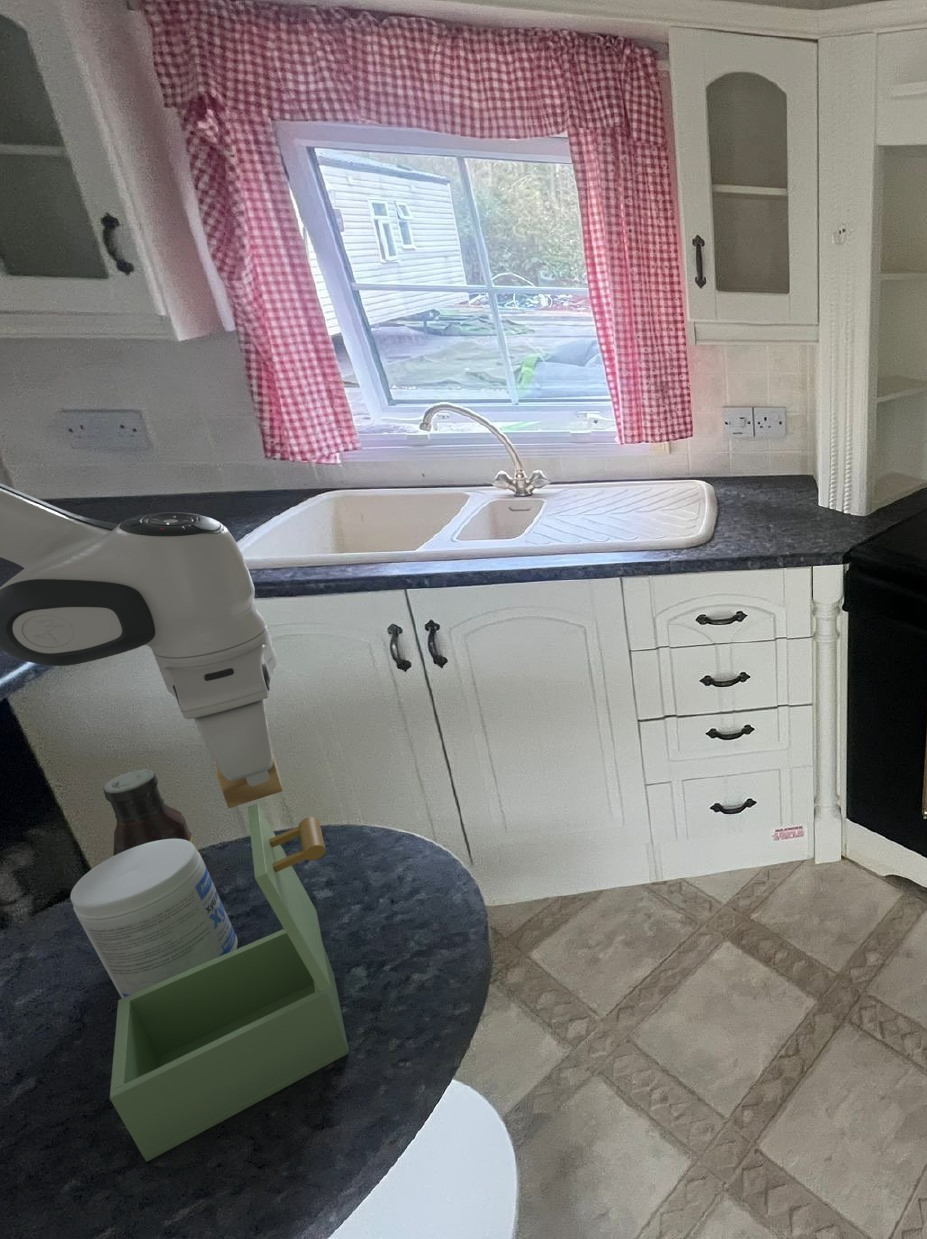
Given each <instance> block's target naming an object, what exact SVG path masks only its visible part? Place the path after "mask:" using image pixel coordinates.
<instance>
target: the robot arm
mask: <svg viewBox="0 0 927 1239" xmlns="http://www.w3.org/2000/svg"><path fill="white" fill-rule="evenodd" d="M0 558H1V559H3V560H7V561H9V562H12V563H14V564H17V566H20V567H22V568H23V569H22V570H20V571H19V572H18V573H17V574H16V575H14V576H13V577H11V578H10V579H8V580H7V581H6V582H5V583H4V584H2V585H1V586H0V650H2V651H3V652H5V653H6V654H8V655H10V656H12V657H14V658H17V659H18V660H21V661H25V662H29V663H31V664H36V665H42V666H48V667H49V666H51V667H52V666H53V667H67V666H74V665H80V664H85V663H89V662H93V661H97V660H101V659H105V658H109V657H113V656H117V655H120V654H123V653H127V652H129V651H132V650H135V649H138V648H142V647H143V646H147V647H149V648H150V649H151V651H152V654H153V656H154V660H155V661H156V664H157V667H158V670H159V673H160V675H161V677H162V680H163V682H164V685H165V687H166V690H167V691H168V692H169V694H171V695H172V696H173V697H174V698H175V700H176V701H177V704H178V707H179V710H180V712H181V714H182V716H183V718H184V719H185V720H194V723H195V725H196V727H197V728H196V729H197V730H198V732H199V734H200V736H201V738H202V740H203V742H204V744H205V746H206V748H207V750H208V751H209V753H210V756H211V757H212V759H213V761H214V762H215V765H216V764H217V766H218V768H219V770H220V771H221V773H222V774H223V775H224V776H225V777H226V778H227V779H228V780H230V781H235V780H239V779H242V778H246V780H247V783H248V785H250V786H255V785H258V784H261V783H264V782H267V781H268V780H269V773H268V770H269V769H270V768H271V767H272V764H273V757H272V750H273V748H272V749H271V746H272V743H271V736H270V729H269V724H268V717H267V708H266V700H267V699H268V698H269V697H270V691H271V689H270V683H271V678H272V676H273V673H274V670H275V669H276V667H277V666H278V663H279V661H278V657H277V653H276V650H275V647H274V644H273V642H272V637H271V634H270V632H269V629H268V625H267V623H266V620H265V618H264V617H263V616H262V615H261V614H260V612H259V611H258V609H257V607H256V604H255V593H256V592H255V591H256V590H255V585H254V582H253V579H252V576H251V573H250V570H249V568H248V565H247V562H246V560H245V558H244V556H243V553H242V551H241V549H240V547H239V545H238V543H237V541H236V539H235V538H234V536H233V535H232V533H231V532H230V531H229V529H228V528H227V527H226V526H225V525H224V524H223V523H221V522H220V521H218V520H217V519H214V518H212V517H208V516H204V515H202V514H199V513H198V514H197V513H191V512H177V511H176V512H174V511H173V512H172V511H169V512H156V513H150V514H142V515H138V516H133V517H130V518H127V519H125V520H122V521H121V522H120V523H115V522H109V521H104V520H100V519H94V518H90V517H86V516H82V515H79V514H76V513H73V512H70V511H67V510H65V509H62V508H60V507H57V506H55V505H53V504H50V503H48V502H46V501H44V500H41V499H38V498H36V497H34V496H32V495H29V494H27V493H25V492H22V491H20V490H17V489H15V488H13V487H11V486H8V485H6V484H4V483H1V482H0Z"/></svg>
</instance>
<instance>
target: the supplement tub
mask: <svg viewBox="0 0 927 1239" xmlns="http://www.w3.org/2000/svg"><path fill="white" fill-rule="evenodd" d="M196 848H197V847H196ZM196 848H195V846H194V845H193V844H192V843H191V842H190V841H187V840H183V839H164V840H158V841H153V842H149V843H146V844H142V845H139V846H136V847H133V848H131V849H128V850H126V851H123V852H121V853H119V854H117V855H115V856H110V857H109V858H107V859H106V860H104V861H102V862H101V863H99V864H97V865H96V866H94V867H93V868H92V869H90V870H89V871H87V873H85V874H84V875H83V876H81V878H80V879H79V880H78V881H77V882H76V884H74V886H73V888H72V889H71V891H70V897H69V898H70V901H71V903H72V906H73V911H74V913H75V916H76V917H77V920H78V921H79V924H80V925H81V926H82V930H83V931H84V932H85V934H86V936H87V937H88V939H89V941H90V943H91V945H92V947H93V948H94V950H95V953H96V954H97V956H98V958H99V960H100V961H101V963H102V965H103V967H104V969H105V970H106V972H107V974H108V976H109V978H110V979H111V982H112V983H113V985H114V987H115V989H116V990H117V993H118V995H119V996H120V999H122V998H125V997H127V996H129V995H132V994H134V993H136V992H139V991H141V990H143V989H146V988H148V987H150V986H153V985H155V984H157V983H160V982H162V981H164V980H167V979H169V978H171V977H173V976H176V975H178V974H180V973H183V972H185V971H187V970H190V969H192V968H194V967H197V966H199V965H201V964H204V963H206V962H208V961H211V960H213V959H215V958H218V957H220V956H222V955H225V954H227V953H229V952H232V951H234V950H236V949H238V942H239V941H238V937H237V935H236V932H235V930H234V928H233V925H232V923H231V921H230V919H229V916H228V913H227V911H226V909H225V907H224V905H223V902H222V900H221V898H220V895H219V893H218V891H217V888H216V886H215V884H214V881H213V879H212V877H211V875H210V872H209V870H208V868H207V865H206V864H205V862H204V859H203V858H202V855H201V854H200V852H199V850H198V849H197V850H198V851H197V850H196Z"/></svg>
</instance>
